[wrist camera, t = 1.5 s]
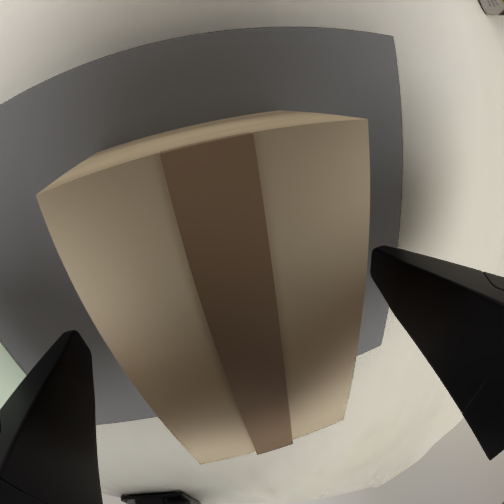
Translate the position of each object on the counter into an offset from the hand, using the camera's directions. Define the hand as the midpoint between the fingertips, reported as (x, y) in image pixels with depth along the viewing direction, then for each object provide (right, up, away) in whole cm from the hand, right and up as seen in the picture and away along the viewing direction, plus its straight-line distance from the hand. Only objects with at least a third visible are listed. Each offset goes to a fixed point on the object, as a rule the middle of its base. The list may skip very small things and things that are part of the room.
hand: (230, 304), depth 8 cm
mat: (-7, -1, +1) cm, 7 cm away
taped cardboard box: (0, +1, +1) cm, 2 cm away
